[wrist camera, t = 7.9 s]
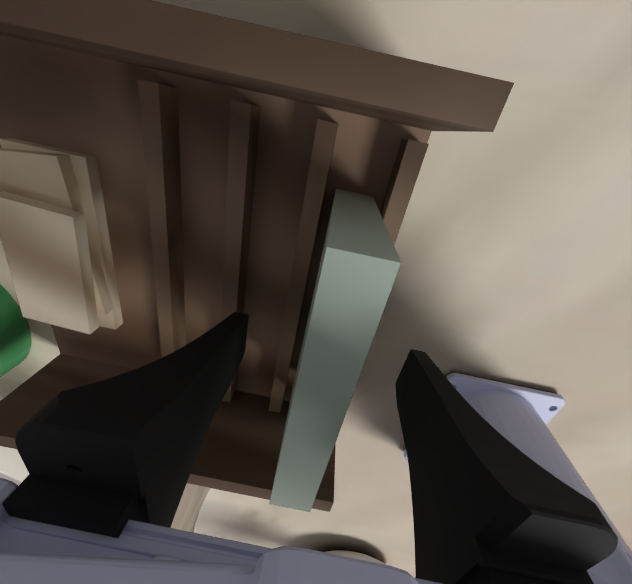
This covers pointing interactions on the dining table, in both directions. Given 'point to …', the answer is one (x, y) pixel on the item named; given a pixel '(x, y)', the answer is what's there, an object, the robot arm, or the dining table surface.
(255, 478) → the rack
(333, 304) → the sheet
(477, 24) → the dining table surface
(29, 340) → the tape roll
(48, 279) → the offcut stack
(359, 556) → the flower in vase
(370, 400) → the dining table surface
